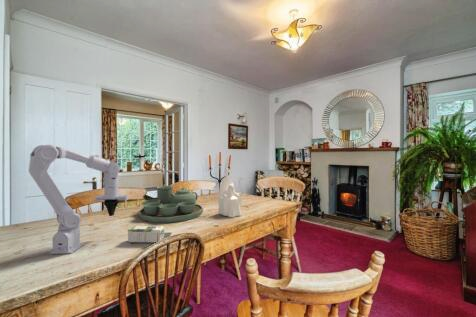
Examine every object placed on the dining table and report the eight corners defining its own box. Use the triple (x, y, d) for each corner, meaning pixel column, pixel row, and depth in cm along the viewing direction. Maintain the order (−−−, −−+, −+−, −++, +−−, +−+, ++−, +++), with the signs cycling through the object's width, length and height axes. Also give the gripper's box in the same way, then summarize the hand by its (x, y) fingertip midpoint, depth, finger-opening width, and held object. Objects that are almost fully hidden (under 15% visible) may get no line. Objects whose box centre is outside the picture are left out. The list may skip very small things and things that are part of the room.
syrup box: (133, 225, 108) (164, 225, 108) (134, 238, 108) (164, 238, 108) (127, 229, 102) (159, 229, 102) (127, 242, 103) (160, 242, 102)
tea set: (124, 219, 140) (123, 192, 139) (167, 205, 177) (167, 183, 177) (179, 227, 125) (178, 197, 125) (213, 210, 162) (213, 186, 162)
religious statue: (227, 219, 140) (228, 169, 139) (216, 213, 152) (217, 168, 150) (250, 214, 150) (251, 168, 149) (238, 209, 161) (239, 167, 160)
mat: (165, 242, 103) (165, 241, 103) (131, 243, 102) (131, 242, 102) (171, 233, 115) (171, 232, 115) (140, 234, 114) (140, 233, 114)
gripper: (130, 185, 114) (130, 213, 115) (99, 185, 113) (100, 213, 114) (124, 187, 107) (124, 216, 108) (91, 188, 106) (92, 217, 107)
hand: (111, 215), depth 110 cm, fingers closed
